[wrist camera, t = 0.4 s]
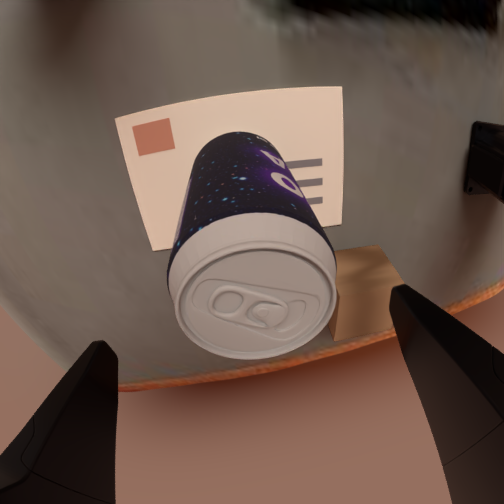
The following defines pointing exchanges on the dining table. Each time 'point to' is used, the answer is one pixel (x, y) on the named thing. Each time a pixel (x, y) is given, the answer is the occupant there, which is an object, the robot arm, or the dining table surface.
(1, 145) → the dining table surface
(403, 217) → the dining table surface
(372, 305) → the walnut block
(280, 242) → the beverage can
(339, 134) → the letter
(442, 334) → the robot arm
